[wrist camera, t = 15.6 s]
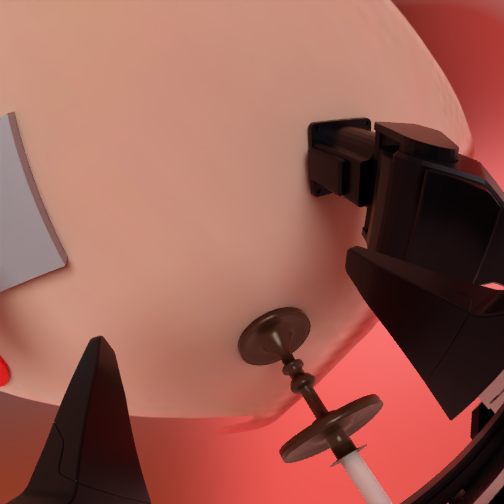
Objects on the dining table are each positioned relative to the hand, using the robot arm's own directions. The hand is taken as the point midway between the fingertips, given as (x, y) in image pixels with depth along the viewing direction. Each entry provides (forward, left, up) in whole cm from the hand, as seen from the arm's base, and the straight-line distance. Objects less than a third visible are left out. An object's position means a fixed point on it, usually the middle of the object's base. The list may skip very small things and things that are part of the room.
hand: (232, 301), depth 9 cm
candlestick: (-6, +21, -13) cm, 26 cm away
